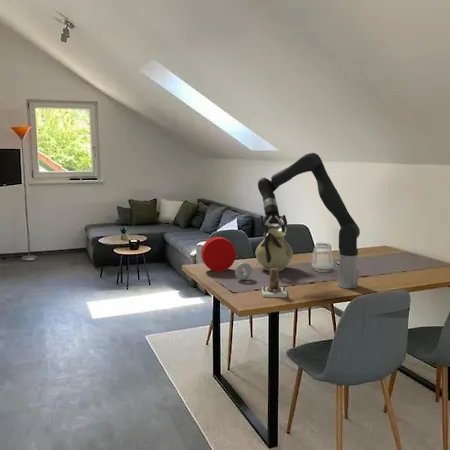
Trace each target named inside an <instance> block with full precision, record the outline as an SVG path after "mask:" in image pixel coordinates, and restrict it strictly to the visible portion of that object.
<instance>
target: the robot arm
mask: <svg viewBox="0 0 450 450" xmlns="http://www.w3.org/2000/svg"><path fill="white" fill-rule="evenodd" d="M309 172H311V173H312V174H313V177H314V178H315V180H316V185H317V191H318V195H319V198H320V199H321V201H322V203H323V205H324V206H325V208H326V209H327V210H328V211H329V213H330V214H331V215H332V216H333V217H334V218H335V219H336V221H337V223H338V224H339V226H340V229H339V230H338V231H339V232H338V250H339V256H338V257H339V259H338V261H339V263H338V287H339V288H342V289H357V288H359V287H358V283H359V269H358V260H359V259H358V256H359V250H358V244H357V243H358V238H359V237H360V234H361V231H360V227H359V225H358V224H357V222H356V221H355V220H354V219H353V217H352V216H351V214H350V213H349V211H348V209H347V207H346V205H345V203H344V201H343V199H342V197H341V195H340V193H339V192H338V190H337V188H336V187H335V185H334V183H333V181H332V179H331V178H330V176H329V174H328V172H327V170H326V167H325V165H324V162H323V161H322V158H321V157H320V156H319V154H317V153H315V152H310V153H306V154H304V155H302V156H301V157H299V159H297V160H296V161H295V162H293V163H292V164H291V165H289V166H288V167H285V168H284V169H282V170H280V171H278V172H276V173H274V174H272V176H271V180H270V179H268V178H266V177H261V178H260V179H259V180H258V183H257V189H258V191H259V193H260V195H261V197H262V202H263V211H264V215H265V216H263V215H260V218H259V222H260V223H259V224H260V227H261V228H264V232H266V233H268V227H269V226H270V225H276V224H277V225H278V226H279V227H281V229H282V233H284V231H285V227H287V226H288V220H287V217H286V215H285V214H283V215H280V213H279V207H278V203H277V199H276V194H275V193H274V192H275V191H276V190H277V189H278V188H279V187H281V186H282V185H284V184H286V183H287V182H289V181H290V180H292V179H293V178H295V177H297V176H298V175H301V174H304V173H309ZM264 221H266V222H265V223H264Z"/></svg>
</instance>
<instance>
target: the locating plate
mask: <svg viewBox="0 0 450 450" xmlns="http://www.w3.org/2000/svg"><path fill="white" fill-rule="evenodd" d="M267 287H268V286H264V285H263V286H261V295H262V298H287V297H288V292H287V288H286V286H279V287H280V288H281V291H280V292H276V289H273V292H268V291H267Z"/></svg>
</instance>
